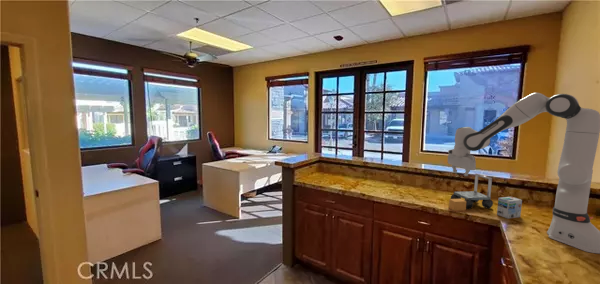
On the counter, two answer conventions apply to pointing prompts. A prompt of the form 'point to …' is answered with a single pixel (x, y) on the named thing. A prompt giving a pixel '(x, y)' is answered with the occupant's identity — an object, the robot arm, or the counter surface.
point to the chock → (457, 204)
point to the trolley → (476, 194)
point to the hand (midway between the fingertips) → (460, 174)
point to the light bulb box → (509, 207)
